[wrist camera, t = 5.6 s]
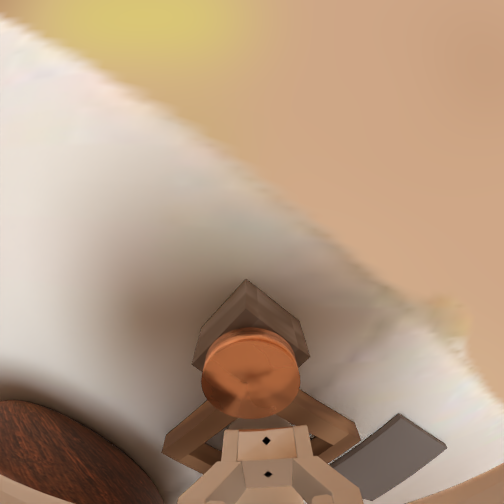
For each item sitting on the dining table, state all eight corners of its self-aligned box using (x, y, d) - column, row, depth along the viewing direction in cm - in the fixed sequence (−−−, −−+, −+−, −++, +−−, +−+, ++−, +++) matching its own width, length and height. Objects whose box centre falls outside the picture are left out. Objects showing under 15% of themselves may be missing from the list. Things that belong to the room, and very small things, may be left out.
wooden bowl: (166, 537, 28) (156, 595, 18) (3, 467, 26) (-25, 513, 16) (209, 444, 22) (197, 552, 12) (-36, 332, 20) (-101, 385, 10)
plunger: (303, 327, 18) (320, 379, 13) (253, 374, 19) (255, 430, 14) (245, 282, 17) (244, 325, 13) (197, 334, 18) (182, 387, 13)
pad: (445, 444, 23) (447, 447, 23) (370, 497, 25) (372, 500, 25) (398, 413, 22) (401, 418, 21) (311, 476, 23) (311, 481, 23)
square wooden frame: (391, 392, 21) (411, 426, 17) (264, 483, 24) (266, 516, 20) (246, 278, 18) (245, 308, 15) (125, 409, 21) (109, 444, 17)
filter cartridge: (306, 430, 22) (327, 539, 12) (262, 460, 23) (267, 561, 13) (256, 402, 21) (261, 525, 11) (214, 436, 22) (203, 546, 12)
